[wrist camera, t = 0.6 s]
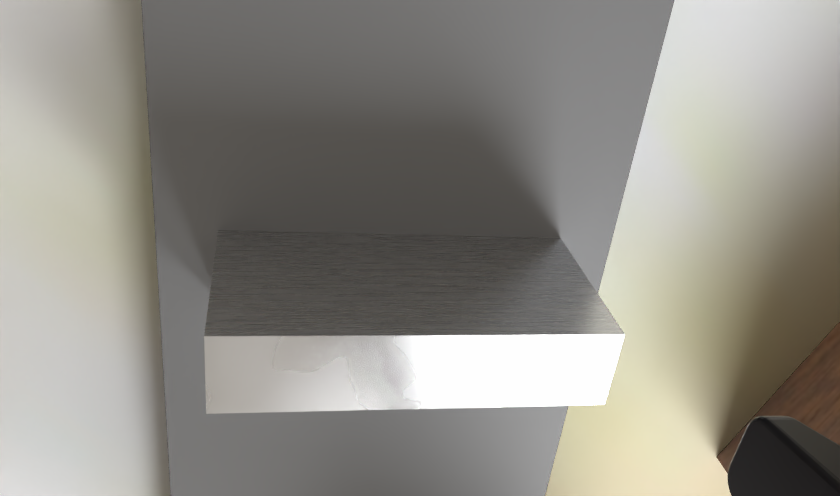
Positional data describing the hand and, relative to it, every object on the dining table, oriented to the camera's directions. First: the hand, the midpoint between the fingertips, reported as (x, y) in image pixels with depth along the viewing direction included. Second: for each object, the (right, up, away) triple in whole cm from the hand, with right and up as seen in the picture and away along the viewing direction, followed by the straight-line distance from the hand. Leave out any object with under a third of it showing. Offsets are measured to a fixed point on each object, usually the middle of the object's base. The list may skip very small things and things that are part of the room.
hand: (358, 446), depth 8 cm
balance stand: (0, +2, +14) cm, 14 cm away
